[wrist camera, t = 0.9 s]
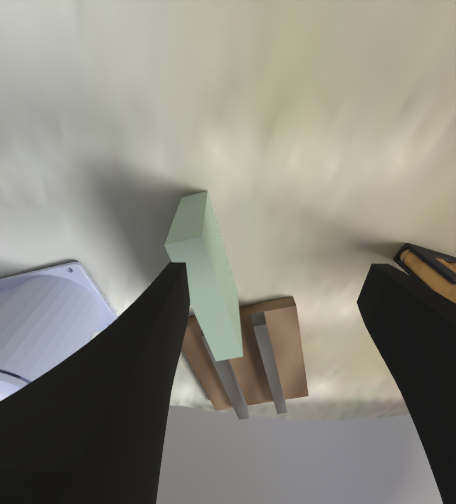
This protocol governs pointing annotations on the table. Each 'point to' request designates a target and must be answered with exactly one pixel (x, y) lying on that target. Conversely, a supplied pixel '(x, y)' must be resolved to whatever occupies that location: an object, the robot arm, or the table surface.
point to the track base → (253, 359)
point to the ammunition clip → (430, 269)
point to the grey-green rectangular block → (207, 274)
